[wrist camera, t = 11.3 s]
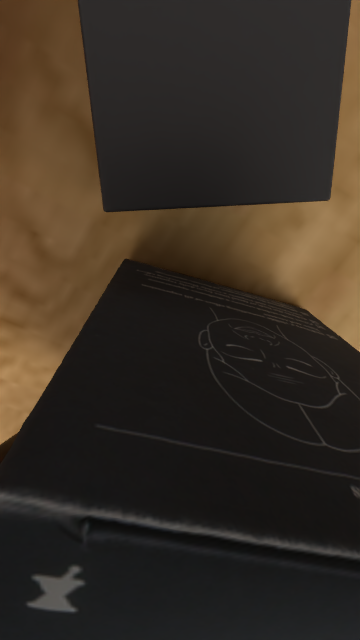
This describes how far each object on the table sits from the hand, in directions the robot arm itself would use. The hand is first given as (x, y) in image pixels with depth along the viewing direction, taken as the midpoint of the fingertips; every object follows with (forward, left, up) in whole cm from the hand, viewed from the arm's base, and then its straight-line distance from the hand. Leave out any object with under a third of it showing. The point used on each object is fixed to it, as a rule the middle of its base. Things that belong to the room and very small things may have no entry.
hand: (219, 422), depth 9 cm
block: (0, +8, -5) cm, 10 cm away
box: (0, 0, -5) cm, 5 cm away
